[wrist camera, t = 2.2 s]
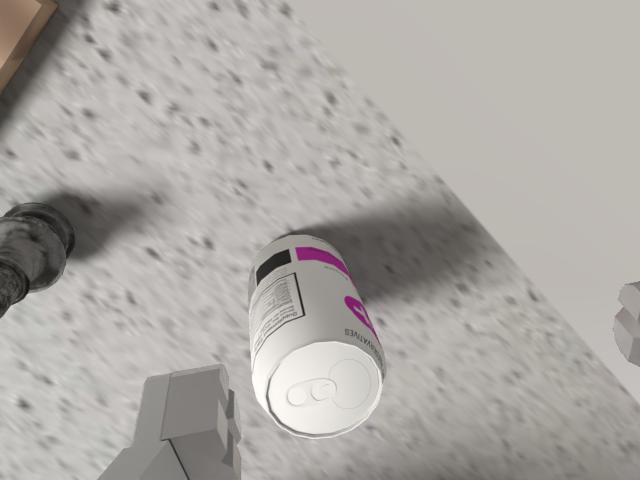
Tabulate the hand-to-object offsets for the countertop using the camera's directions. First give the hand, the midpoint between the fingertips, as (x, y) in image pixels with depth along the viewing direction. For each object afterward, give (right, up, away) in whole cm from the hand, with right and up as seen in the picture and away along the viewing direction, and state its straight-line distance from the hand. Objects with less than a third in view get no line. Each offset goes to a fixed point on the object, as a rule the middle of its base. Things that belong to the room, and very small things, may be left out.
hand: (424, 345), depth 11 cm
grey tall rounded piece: (-23, +3, +30) cm, 38 cm away
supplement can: (-4, -1, +35) cm, 35 cm away
